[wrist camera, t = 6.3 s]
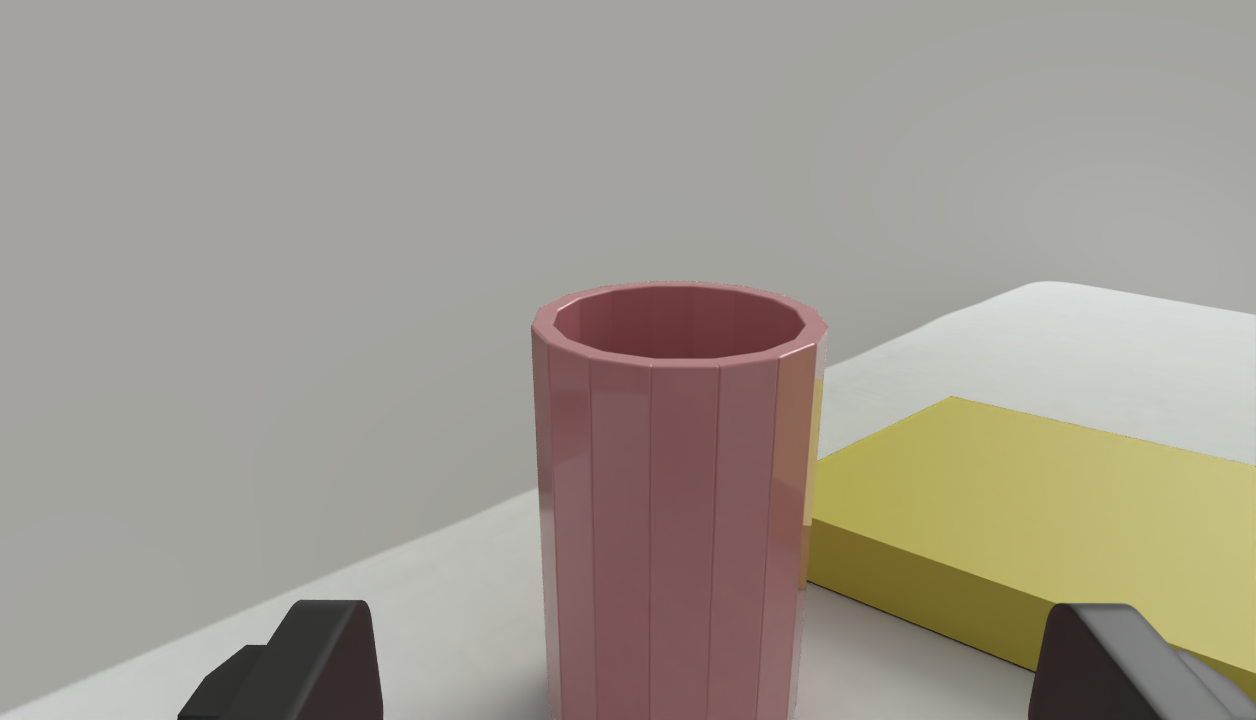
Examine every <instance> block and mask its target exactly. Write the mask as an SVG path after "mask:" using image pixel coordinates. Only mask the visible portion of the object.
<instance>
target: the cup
mask: <svg viewBox="0 0 1256 720" xmlns="http://www.w3.org/2000/svg"><path fill="white" fill-rule="evenodd" d="M827 333H828V326H827V325H826V323H825V321H824V320H823V319H822V317H821V316H820V315H819V313H818V312H817V310H815V309H814V308H812V307H809V306H807V305H805V304H803V303H800V302H798V301H796V300H794V299H791V298H790V297H787V296H784V295H781V294H777V293H772V292H768V291H763V290H759V289H754V288H750V287H743V286H738V285H728V284H718V283H708V282H695V281H650V282H638V283H628V284H619V285H609V286H604V287H597V288H593V289H589V290H585V291H581V292H577V293H573V294H568V295H566V296H563V297H561V298H559V299H557V300H555V301H553V302H551V303H549V304H547V305H545V306H543V307H542V308H540V309H539V310H538V311H537V314H536V316H535V318H534V321H533V323H532V326H531V338H532V358H533V380H534V400H535V401H534V402H535V421H536V442H537V465H538V487H539V508H540V530H541V551H542V572H543V594H544V615H545V636H546V657H547V679H548V698H549V703H550V706H551V717H552V720H793V712H794V709H795V706H796V701H797V689H798V677H799V666H800V654H801V642H802V630H803V618H804V606H805V594H806V582H807V571H808V559H809V547H810V535H811V523H812V511H813V499H814V488H815V476H816V464H817V452H818V440H819V428H820V416H821V404H822V393H823V381H824V369H825V355H826V344H827Z"/></svg>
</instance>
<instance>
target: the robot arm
mask: <svg viewBox="0 0 1256 720" xmlns="http://www.w3.org/2000/svg"><path fill="white" fill-rule="evenodd" d="M177 720H383V700H382V692H381V685H380V678H379V670H378V663H377V655H376V648H375V641H374V633H373V626H372V618H371V613H370V609H369V607H368V605H367V603H366V602H365V601H363V600H299V601H297V602H296V603H295V604H294V605H293V606H292V607H291V608H290V610H289V611H288V613H287V614H286V616H285V618H284V619H283V621H282V622H281V624H280V625H279V627H278V628H277V630H276V631H275V633H274V634H273V636H272V637H271V639H270V640H269V642H268V644H267V645H246V646H244V647H243V648H242V649H241V650H239V651H238V652H237V653H235V654H234V655H233V656H232V657H230V658H229V659H228V660H226V661H225V662H224V663H223V664H221V665H220V666H219V667H217V668H216V669H215V670H214V671H212V672H211V673H210V674H208V675H207V676H206V677H205V678H204V679H203V681H202V682H201V684H200V685H199V686H198V688H197V689H196V691H195V692H194V693H193V695H192V696H191V698H190V699H189V700H188V702H187V703H186V704H185V706H184V707H183V709H182V710H181V711H180V713H179V714H178V719H177ZM1028 720H1256V704H1255V703H1254V702H1253V701H1252V700H1251V699H1250V698H1249V697H1248V696H1247V695H1246V694H1245V693H1244V692H1243V691H1242V690H1241V689H1240V688H1239V687H1238V686H1237V685H1236V684H1235V683H1234V682H1233V681H1231V680H1230V679H1228V678H1227V677H1225V676H1223V675H1222V674H1220V673H1219V672H1217V671H1216V670H1214V669H1213V668H1211V667H1210V666H1208V665H1207V664H1205V663H1204V662H1202V661H1201V660H1199V659H1198V658H1196V657H1195V656H1193V655H1191V654H1190V653H1188V652H1187V651H1185V650H1174V649H1173V648H1172V647H1171V646H1170V645H1169V644H1168V643H1167V642H1166V641H1165V640H1164V638H1163V637H1162V636H1161V635H1160V634H1159V633H1158V632H1157V631H1156V630H1155V629H1154V628H1153V626H1152V625H1151V624H1150V623H1149V622H1148V621H1147V620H1146V619H1145V618H1144V617H1143V616H1142V614H1141V613H1140V612H1139V611H1138V610H1136V609H1135V608H1134V607H1132V606H1131V605H1128V604H1126V603H1058V604H1056V605H1054V606H1053V607H1052V609H1051V610H1050V612H1049V614H1048V617H1047V621H1046V626H1045V630H1044V635H1043V640H1042V645H1041V650H1040V655H1039V660H1038V665H1037V669H1036V674H1035V679H1034V684H1033V689H1032V694H1031V699H1030V704H1029V712H1028Z"/></svg>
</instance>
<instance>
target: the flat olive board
mask: <svg viewBox="0 0 1256 720" xmlns="http://www.w3.org/2000/svg"><path fill="white" fill-rule="evenodd" d="M807 580H808V581H811V582H813V583H816V584H818V585H821V586H823V587H826V588H828V589H831V590H833V591H836V592H838V593H841V594H843V595H846V596H848V597H851V598H853V599H856V600H858V601H860V602H863V603H865V604H868V605H870V606H873V607H875V608H878V609H880V610H883V611H885V612H888V613H890V614H893V615H895V616H898V617H900V618H903V619H905V620H908V621H910V622H913V623H915V624H918V625H920V626H923V627H925V628H928V629H930V630H933V631H935V632H938V633H940V634H943V635H945V636H948V637H950V638H953V639H955V640H958V641H960V642H963V643H965V644H967V645H970V646H972V647H975V648H977V649H980V650H982V651H985V652H987V653H990V654H992V655H995V656H997V657H1000V658H1002V659H1005V660H1007V661H1010V662H1012V663H1015V664H1017V665H1020V666H1022V667H1025V668H1027V669H1030V670H1032V671H1035V672H1036V669H1037V665H1038V660H1039V655H1040V650H1041V645H1042V640H1043V635H1044V630H1045V626H1046V621H1047V617H1048V614H1049V612H1050V610H1051V609H1052V607H1053V606H1054V605H1056V604H1058V603H1126V604H1128V605H1131V606H1132V607H1134V608H1135V609H1136V610H1138V611H1139V612H1140V613H1141V614H1142V616H1143V617H1144V618H1145V619H1146V620H1147V621H1148V622H1149V623H1150V624H1151V625H1152V626H1153V628H1154V629H1155V630H1156V631H1157V632H1158V633H1159V634H1160V635H1161V636H1162V637H1163V638H1164V640H1165V641H1166V642H1167V643H1168V644H1169V645H1170V646H1171V647H1172V648H1173V649H1174V650H1185V651H1187V652H1188V653H1190V654H1191V655H1193V656H1195V657H1196V658H1198V659H1199V660H1201V661H1202V662H1204V663H1205V664H1207V665H1208V666H1210V667H1211V668H1213V669H1214V670H1216V671H1217V672H1219V673H1220V674H1222V675H1223V676H1225V677H1227V678H1228V679H1230V680H1231V681H1233V682H1234V683H1235V684H1236V685H1237V686H1238V687H1239V688H1240V689H1241V690H1242V691H1243V692H1244V693H1245V694H1246V695H1247V696H1248V697H1249V698H1250V699H1251V700H1252V701H1253V702H1254V703H1255V704H1256V466H1254V465H1249V464H1245V463H1241V462H1236V461H1232V460H1228V459H1223V458H1219V457H1214V456H1210V455H1206V454H1201V453H1197V452H1193V451H1188V450H1184V449H1180V448H1175V447H1171V446H1167V445H1162V444H1158V443H1154V442H1149V441H1145V440H1141V439H1136V438H1132V437H1127V436H1123V435H1119V434H1114V433H1110V432H1106V431H1101V430H1097V429H1093V428H1088V427H1084V426H1080V425H1075V424H1071V423H1067V422H1062V421H1058V420H1054V419H1049V418H1045V417H1040V416H1036V415H1032V414H1027V413H1023V412H1019V411H1014V410H1010V409H1006V408H1001V407H997V406H993V405H988V404H984V403H980V402H975V401H971V400H967V399H962V398H958V397H954V396H950V397H948V398H946V399H944V400H942V401H940V402H938V403H936V404H934V405H932V406H930V407H928V408H926V409H924V410H922V411H919V412H917V413H915V414H913V415H911V416H909V417H907V418H905V419H903V420H901V421H899V422H897V423H895V424H893V425H891V426H888V427H886V428H884V429H882V430H880V431H878V432H876V433H874V434H872V435H870V436H868V437H866V438H864V439H862V440H860V441H858V442H855V443H853V444H851V445H849V446H847V447H845V448H843V449H841V450H839V451H837V452H835V453H833V454H831V455H829V456H827V457H825V458H822V459H820V460H818V461H817V464H816V476H815V488H814V499H813V511H812V523H811V535H810V547H809V559H808V571H807Z"/></svg>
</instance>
